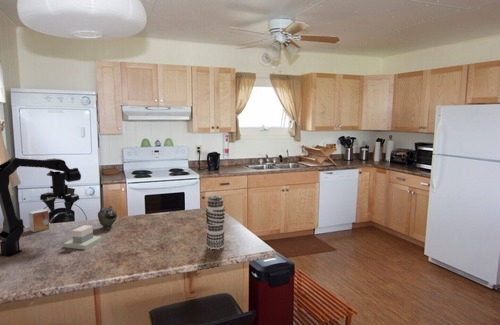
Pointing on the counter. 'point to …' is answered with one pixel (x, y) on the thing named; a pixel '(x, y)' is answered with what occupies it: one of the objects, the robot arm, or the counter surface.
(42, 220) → the small box
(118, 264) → the counter surface
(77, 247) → the stand
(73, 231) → the block
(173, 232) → the counter surface
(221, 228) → the tower model
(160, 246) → the counter surface
